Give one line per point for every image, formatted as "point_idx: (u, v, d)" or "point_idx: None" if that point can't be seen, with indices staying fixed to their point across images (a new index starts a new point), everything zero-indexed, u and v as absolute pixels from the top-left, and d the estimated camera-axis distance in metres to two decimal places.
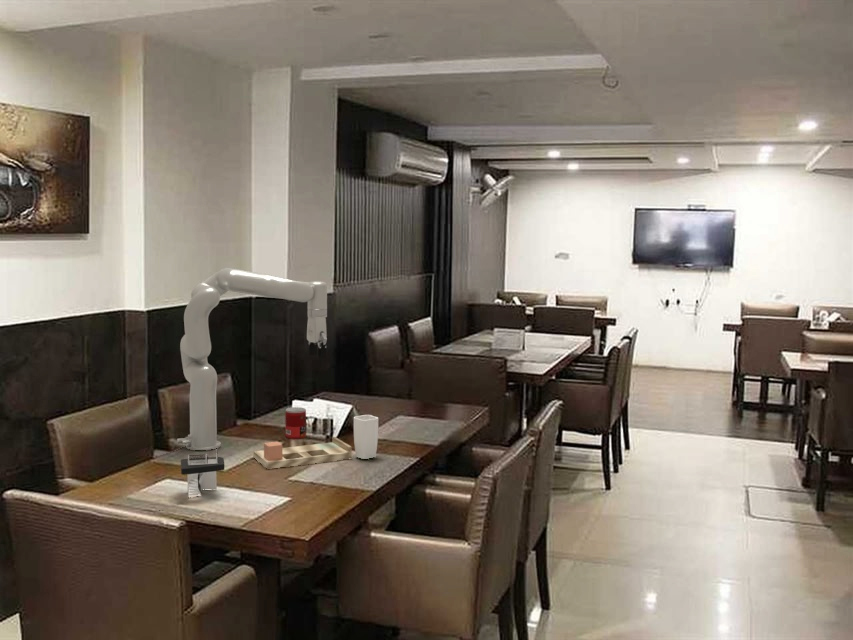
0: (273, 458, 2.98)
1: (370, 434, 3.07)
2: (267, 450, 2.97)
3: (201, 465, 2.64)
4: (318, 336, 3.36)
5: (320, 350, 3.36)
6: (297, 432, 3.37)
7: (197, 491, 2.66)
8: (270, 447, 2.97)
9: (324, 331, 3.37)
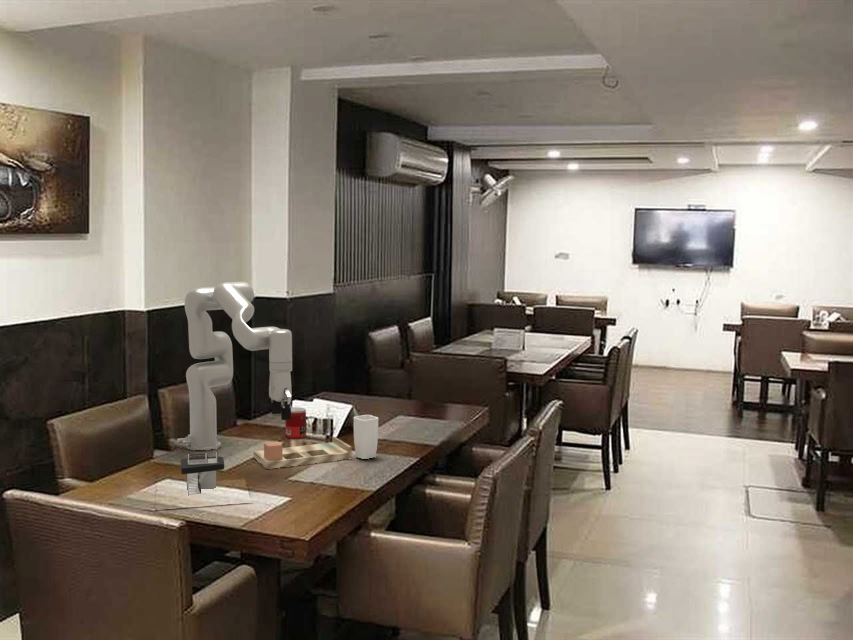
0: (273, 458, 2.98)
1: (370, 434, 3.07)
2: (267, 450, 2.97)
3: (201, 464, 2.65)
4: (281, 394, 2.86)
5: (284, 410, 2.87)
6: (297, 432, 3.37)
7: (197, 490, 2.67)
8: (270, 447, 2.97)
9: (289, 387, 2.88)
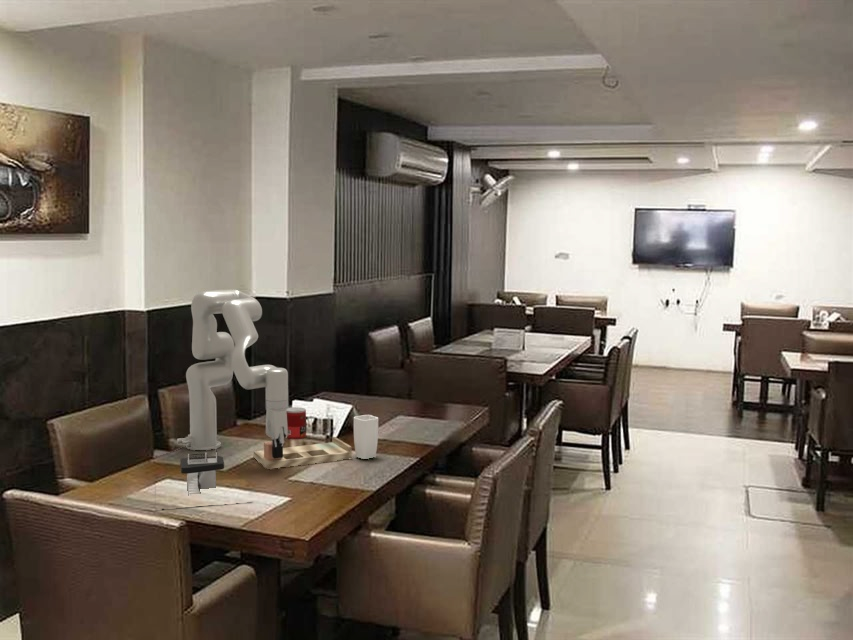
0: None
1: (370, 434, 3.07)
2: (267, 449, 2.98)
3: (201, 464, 2.65)
4: (277, 432, 2.90)
5: (276, 449, 2.95)
6: (297, 432, 3.37)
7: (197, 490, 2.67)
8: (270, 446, 2.98)
9: (285, 425, 2.92)
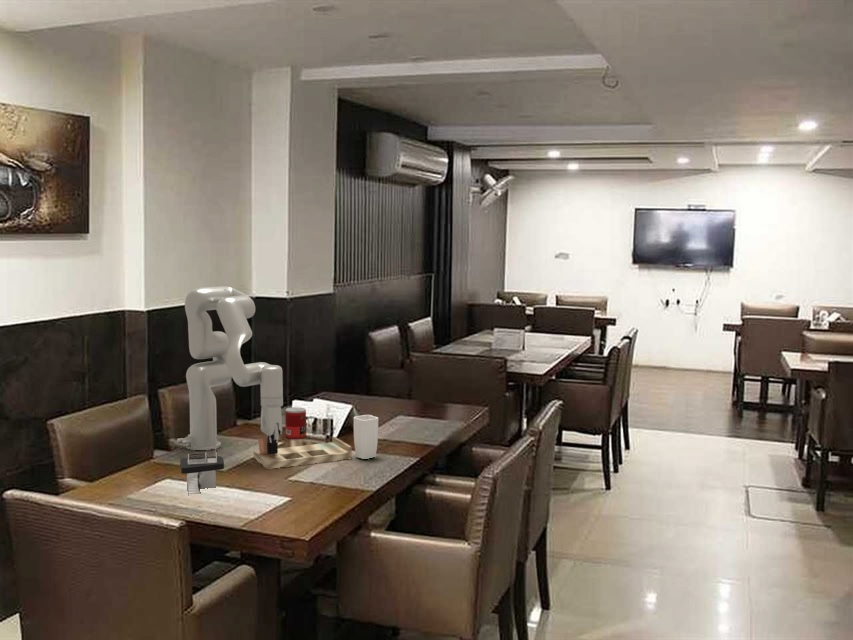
0: None
1: (370, 434, 3.07)
2: (262, 442, 3.03)
3: (201, 464, 2.65)
4: (272, 428, 2.95)
5: (271, 445, 3.00)
6: (297, 432, 3.37)
7: (197, 490, 2.67)
8: (264, 439, 3.03)
9: (280, 422, 2.97)
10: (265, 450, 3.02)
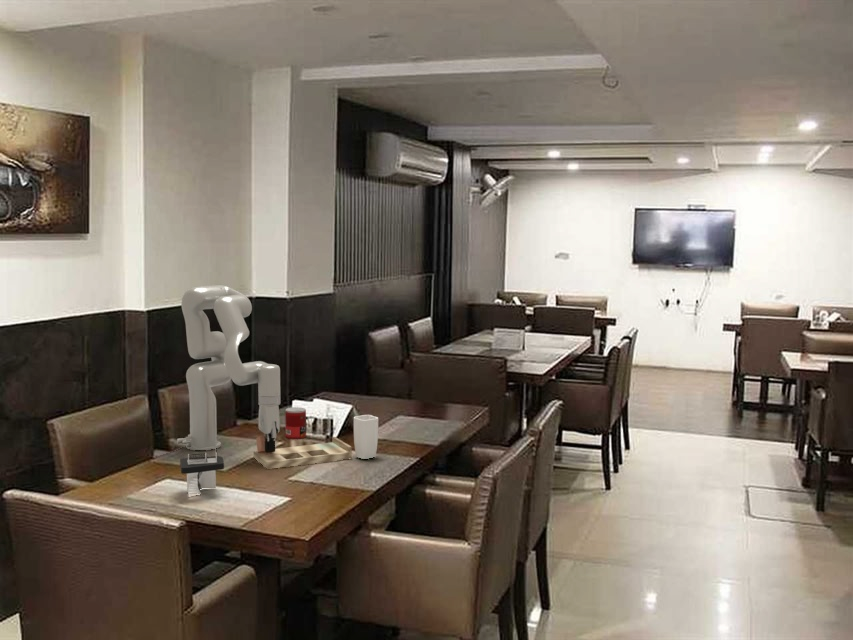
0: None
1: (370, 434, 3.07)
2: (260, 441, 3.05)
3: (201, 464, 2.65)
4: (270, 427, 2.98)
5: (268, 443, 3.02)
6: (297, 432, 3.37)
7: (197, 490, 2.67)
8: (262, 437, 3.05)
9: (277, 420, 2.99)
10: (263, 448, 3.04)
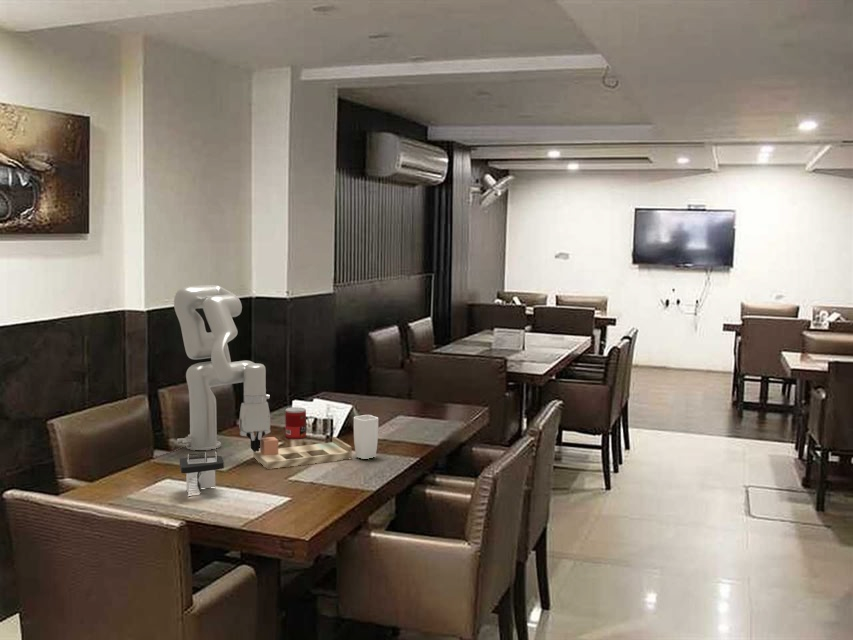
0: (269, 453, 3.05)
1: (370, 434, 3.07)
2: (264, 445, 3.04)
3: (201, 464, 2.66)
4: (239, 423, 3.03)
5: None
6: (297, 432, 3.37)
7: (197, 490, 2.68)
8: (266, 442, 3.04)
9: (242, 419, 3.01)
10: (266, 453, 3.04)
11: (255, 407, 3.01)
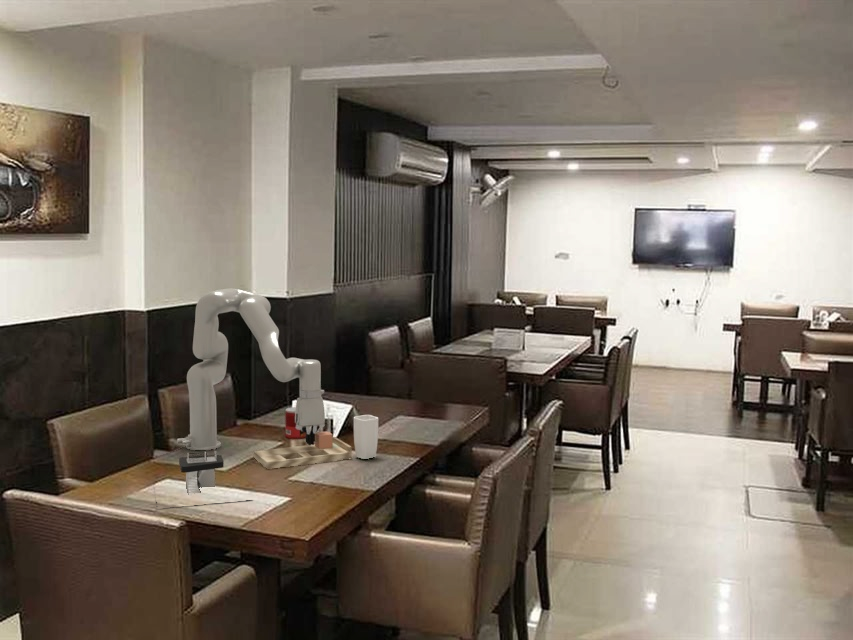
0: (324, 447, 3.14)
1: (370, 434, 3.07)
2: (318, 439, 3.13)
3: (201, 463, 2.67)
4: (295, 417, 3.13)
5: None
6: (297, 432, 3.37)
7: (196, 489, 2.68)
8: (321, 436, 3.13)
9: (298, 413, 3.10)
10: (320, 447, 3.13)
11: (310, 402, 3.10)
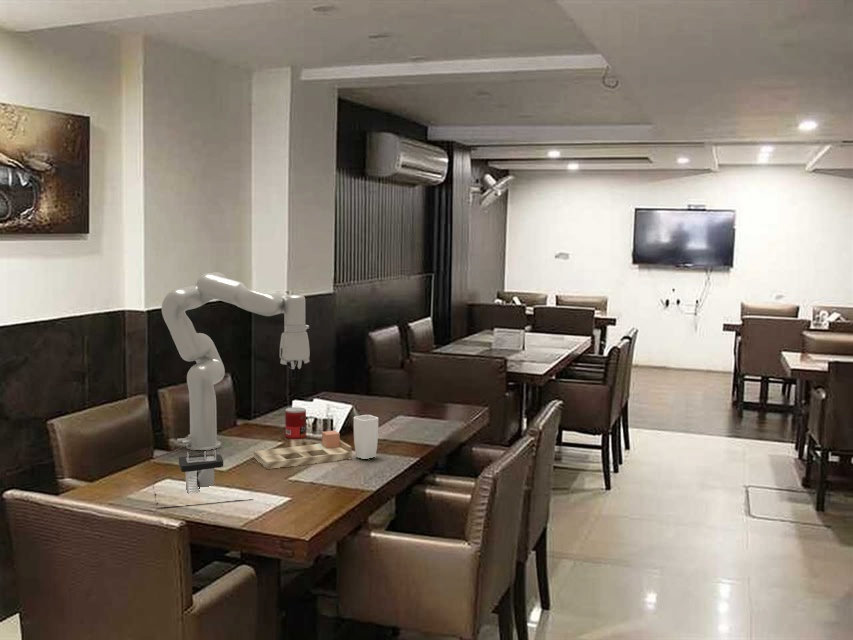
0: (331, 446, 3.15)
1: (370, 434, 3.07)
2: (326, 438, 3.15)
3: (201, 462, 2.67)
4: (280, 352, 3.13)
5: None
6: (297, 432, 3.37)
7: (196, 488, 2.69)
8: (328, 435, 3.14)
9: (283, 348, 3.10)
10: (328, 446, 3.15)
11: (295, 337, 3.11)
